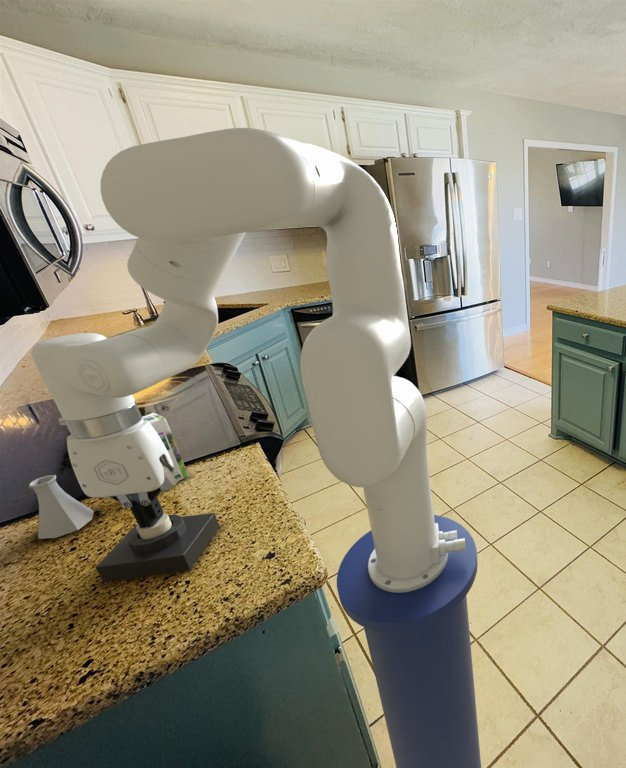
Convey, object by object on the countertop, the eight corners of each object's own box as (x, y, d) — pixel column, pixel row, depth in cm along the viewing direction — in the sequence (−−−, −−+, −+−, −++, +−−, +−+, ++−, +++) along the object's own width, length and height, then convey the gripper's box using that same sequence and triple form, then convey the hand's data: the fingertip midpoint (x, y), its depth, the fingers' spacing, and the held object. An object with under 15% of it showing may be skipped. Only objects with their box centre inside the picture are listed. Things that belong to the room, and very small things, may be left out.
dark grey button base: (220, 526, 73) (211, 504, 71) (190, 570, 64) (179, 546, 62) (145, 536, 71) (134, 513, 69) (103, 583, 62) (89, 558, 60)
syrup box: (157, 491, 83) (130, 429, 78) (145, 483, 86) (118, 422, 80) (189, 477, 88) (166, 417, 82) (176, 469, 90) (152, 411, 85)
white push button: (177, 521, 68) (173, 511, 67) (163, 538, 65) (158, 528, 64) (150, 524, 68) (146, 514, 67) (134, 542, 64) (129, 532, 63)
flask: (28, 545, 70) (-1, 497, 66) (53, 518, 76) (28, 473, 72) (82, 533, 72) (57, 486, 69) (102, 508, 79) (80, 464, 75)
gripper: (20, 439, 54) (80, 545, 61) (147, 427, 56) (191, 531, 63) (67, 414, 60) (116, 512, 68) (178, 404, 63) (214, 500, 70)
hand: (152, 521), depth 65 cm, fingers closed
